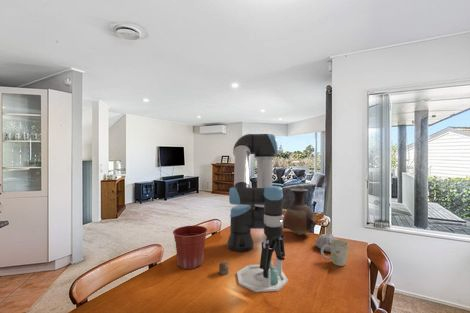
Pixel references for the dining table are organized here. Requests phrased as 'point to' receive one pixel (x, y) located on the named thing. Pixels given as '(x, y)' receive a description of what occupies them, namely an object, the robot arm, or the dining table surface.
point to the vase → (299, 215)
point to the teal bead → (273, 276)
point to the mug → (337, 252)
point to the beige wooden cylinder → (271, 264)
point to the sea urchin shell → (325, 241)
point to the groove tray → (258, 279)
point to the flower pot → (190, 246)
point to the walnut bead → (223, 268)
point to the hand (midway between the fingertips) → (273, 279)
